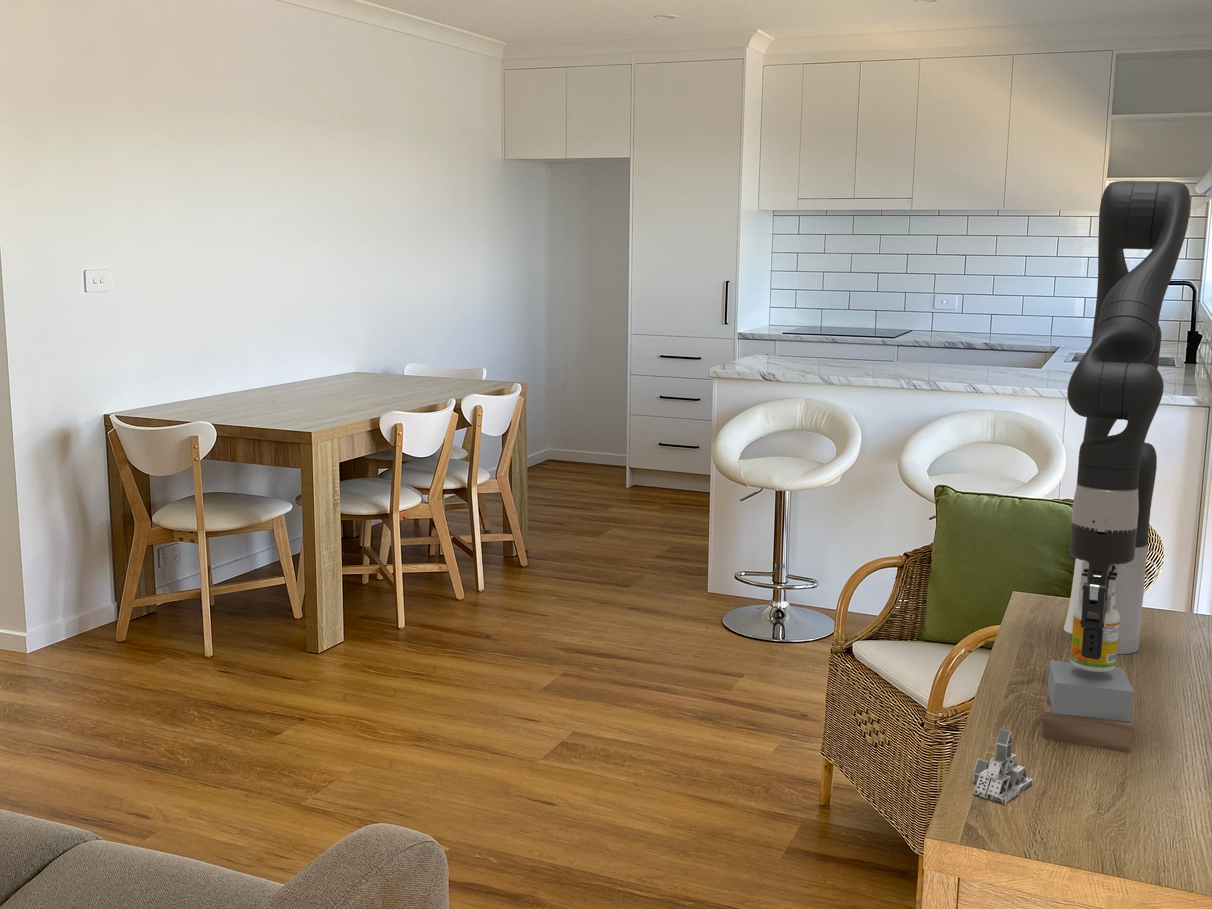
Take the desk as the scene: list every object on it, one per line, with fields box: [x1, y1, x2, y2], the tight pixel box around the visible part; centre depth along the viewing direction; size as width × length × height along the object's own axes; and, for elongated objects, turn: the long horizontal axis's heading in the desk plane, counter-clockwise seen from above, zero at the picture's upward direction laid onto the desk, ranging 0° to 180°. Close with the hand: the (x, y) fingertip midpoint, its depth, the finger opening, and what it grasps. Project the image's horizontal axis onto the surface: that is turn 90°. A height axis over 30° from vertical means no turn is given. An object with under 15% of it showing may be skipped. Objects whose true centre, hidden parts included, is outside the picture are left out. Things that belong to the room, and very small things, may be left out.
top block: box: [1047, 660, 1135, 723], centre depth 141 cm, size 9×9×4 cm
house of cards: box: [972, 727, 1033, 806], centre depth 126 cm, size 9×9×8 cm
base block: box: [1042, 693, 1133, 753], centre depth 141 cm, size 10×10×4 cm
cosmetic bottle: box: [1063, 558, 1082, 635], centre depth 182 cm, size 6×6×22 cm
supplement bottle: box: [1069, 591, 1120, 672], centre depth 140 cm, size 5×5×10 cm
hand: (1093, 650), depth 140 cm, fingers closed on supplement bottle, 5 cm apart
